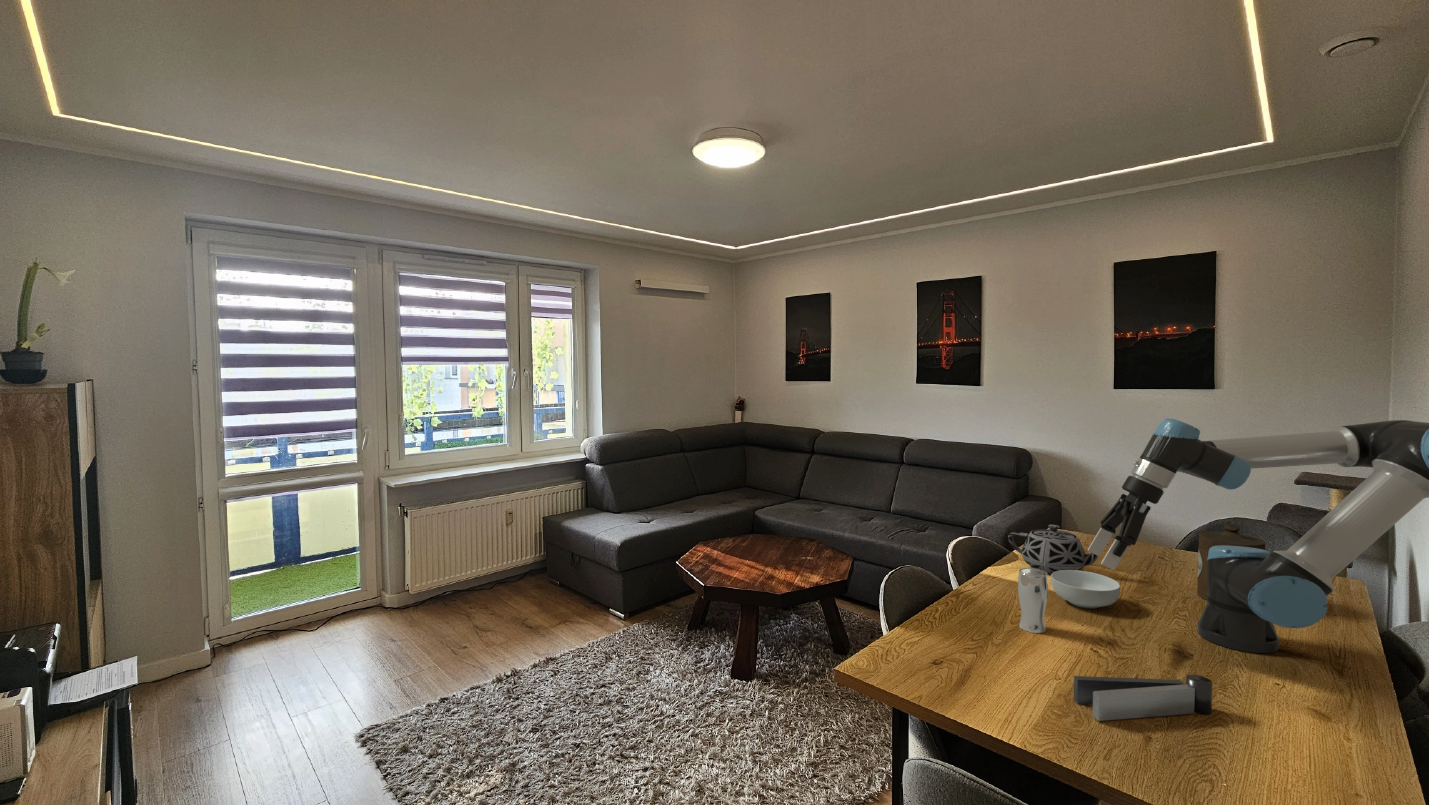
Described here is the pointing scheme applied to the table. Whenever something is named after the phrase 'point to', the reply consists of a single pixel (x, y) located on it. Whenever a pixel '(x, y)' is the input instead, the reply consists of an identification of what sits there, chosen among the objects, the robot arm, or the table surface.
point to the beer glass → (1032, 599)
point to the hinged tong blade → (1143, 702)
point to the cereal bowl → (1085, 588)
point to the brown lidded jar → (1215, 539)
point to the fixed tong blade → (1089, 684)
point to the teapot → (1053, 550)
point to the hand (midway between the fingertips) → (1099, 560)
